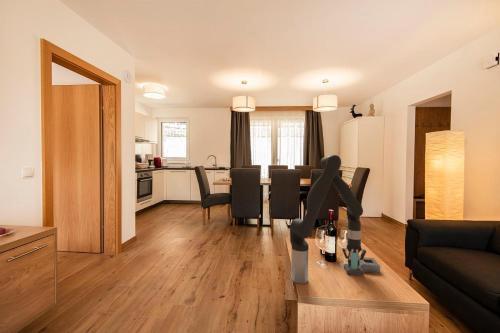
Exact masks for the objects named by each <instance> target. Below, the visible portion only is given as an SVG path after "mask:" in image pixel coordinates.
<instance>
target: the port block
mask: <svg viewBox="0 0 500 333" xmlns="http://www.w3.org/2000/svg"><path fill="white" fill-rule="evenodd" d="M359 265H360V267H361V268H362V270H363V271H364V273H370V274H381V265H380V263H378V262H377V260H376V259H375V258H374V257H365V256H364V258H363V260H360V262H359Z"/></svg>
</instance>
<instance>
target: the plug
mask: <svg viewBox="0 0 500 333" xmlns="http://www.w3.org/2000/svg"><path fill="white" fill-rule="evenodd" d="M350 269H354V270H357V269H358V253H354V252H353V253H351V266H350Z"/></svg>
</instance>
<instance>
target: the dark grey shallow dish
mask: <svg viewBox="0 0 500 333" xmlns="http://www.w3.org/2000/svg"><path fill="white" fill-rule="evenodd" d="M343 269H344V270H345V273H346V275H351V276H360V277H362V276H364V273H365V272H364V271H363V270H362V268H361V267H360V265H359V266H358V269H357V270H354V269H350V266H349V264H348V263H344V264H343Z"/></svg>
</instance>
